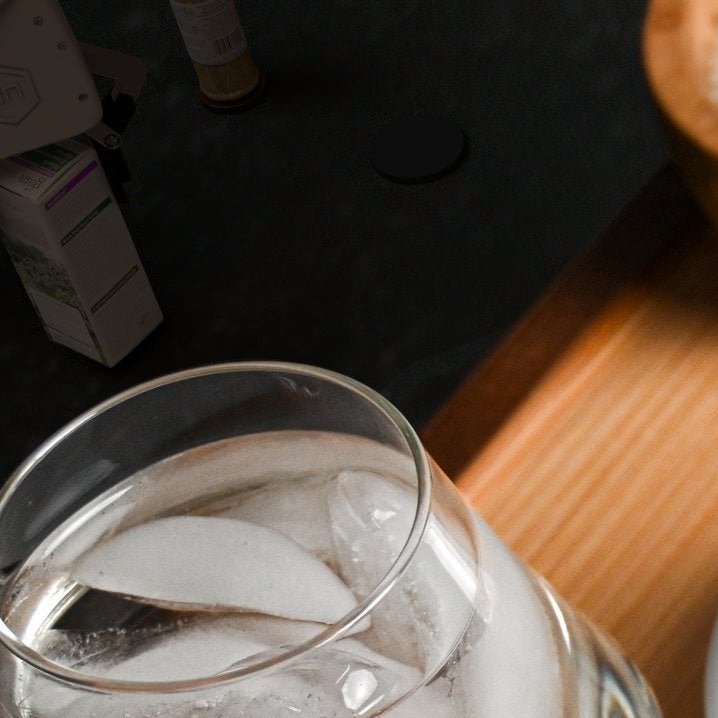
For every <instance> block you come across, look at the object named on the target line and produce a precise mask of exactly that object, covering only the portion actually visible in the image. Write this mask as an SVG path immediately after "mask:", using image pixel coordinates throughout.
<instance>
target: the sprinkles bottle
mask: <svg viewBox="0 0 718 718" xmlns="http://www.w3.org/2000/svg"><path fill="white" fill-rule="evenodd" d="M168 1H169V4H170V7H171V10H172V12H173V15H174V17H175V18H174V19H175V20H176V22H177V26H178V28H179V31H180V34H181V37H182V40H183V42H184V45H185V48H186V51H187V53H188V55H189V57H190V59H191V61H192V64H193V67H194V70H195V72H196V76H197V78H198V80H199V83H200V88H201V91H202V92H203V93H204V94H205V95H206V96H207V97H208V98H210V99H213V100H215V101H234V100H238V99H240V98H243V97H245V96H247V95H248V94H249V93H251V92H252V91H253V90H254V89H255V88H256V86H257V85H258V82H259V72H258V70H257V68H258V67H257V66H256V65H255V63H254V61H253V57H252V53H251V51H250V49H249V44H248V42H247V39H246V36H245V32H244V28H243V25H242V23H241V19H240V17H239V14H238V10H237V8H236V4H235V1H234V0H168ZM256 67H257V68H256Z"/></svg>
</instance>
